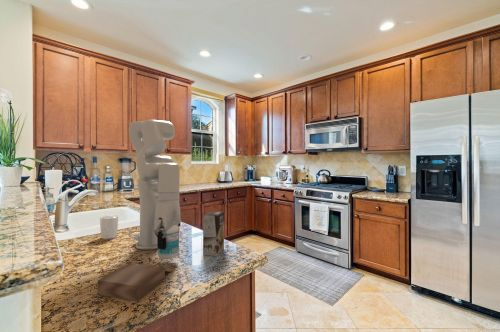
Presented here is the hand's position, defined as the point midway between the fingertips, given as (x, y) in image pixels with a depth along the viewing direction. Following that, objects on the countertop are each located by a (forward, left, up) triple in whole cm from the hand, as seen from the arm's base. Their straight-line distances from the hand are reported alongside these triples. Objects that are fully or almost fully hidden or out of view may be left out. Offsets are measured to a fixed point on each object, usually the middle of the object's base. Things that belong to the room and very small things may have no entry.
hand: (168, 244), depth 88 cm
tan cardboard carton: (0, -14, -8) cm, 16 cm away
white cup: (-46, +20, -7) cm, 51 cm away
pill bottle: (0, 0, -4) cm, 4 cm away
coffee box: (+12, +15, -7) cm, 20 cm away
